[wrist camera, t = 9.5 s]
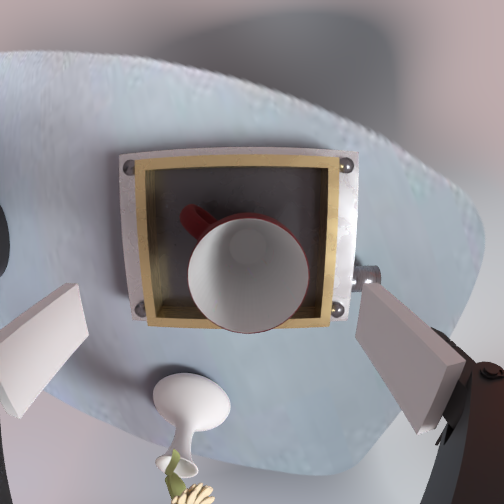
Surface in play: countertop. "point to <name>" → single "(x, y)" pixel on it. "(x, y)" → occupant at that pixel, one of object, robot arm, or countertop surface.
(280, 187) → the gold rimmed tray box
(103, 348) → the countertop surface
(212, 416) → the flower in vase
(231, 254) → the mug
